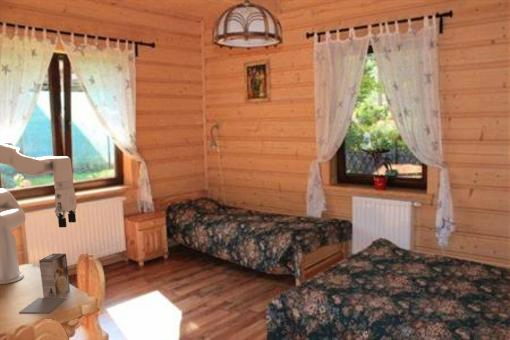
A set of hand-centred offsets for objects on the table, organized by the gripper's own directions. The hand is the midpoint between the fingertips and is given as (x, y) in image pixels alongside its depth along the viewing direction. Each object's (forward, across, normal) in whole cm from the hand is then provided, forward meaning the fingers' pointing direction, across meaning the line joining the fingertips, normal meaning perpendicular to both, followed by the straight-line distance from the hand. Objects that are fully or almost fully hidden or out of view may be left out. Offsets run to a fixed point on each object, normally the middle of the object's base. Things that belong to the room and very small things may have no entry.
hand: (67, 224), depth 197 cm
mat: (+26, -25, -1) cm, 36 cm away
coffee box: (+26, -14, 0) cm, 30 cm away
